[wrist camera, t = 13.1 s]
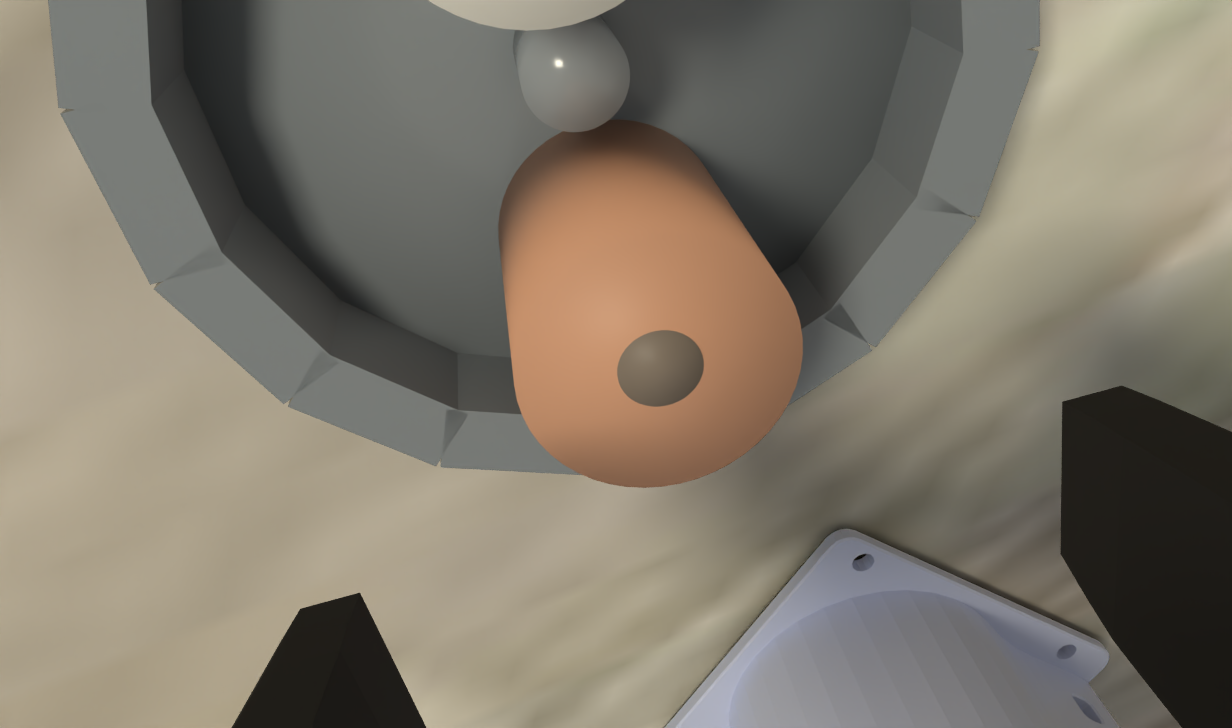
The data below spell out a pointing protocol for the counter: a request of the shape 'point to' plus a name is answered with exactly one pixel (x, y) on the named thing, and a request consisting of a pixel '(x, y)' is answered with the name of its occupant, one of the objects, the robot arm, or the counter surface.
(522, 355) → the bead terracotta
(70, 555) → the counter surface
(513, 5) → the bead cream
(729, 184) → the groove tray
